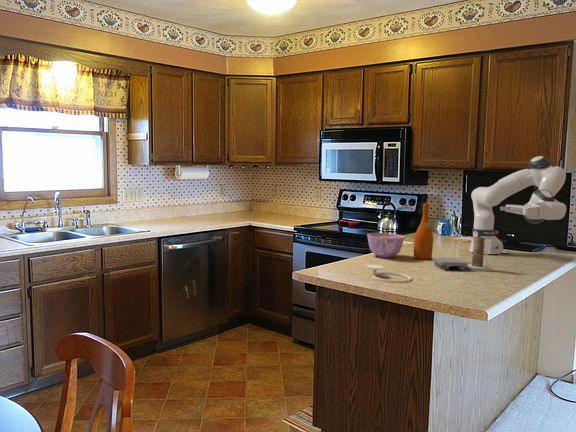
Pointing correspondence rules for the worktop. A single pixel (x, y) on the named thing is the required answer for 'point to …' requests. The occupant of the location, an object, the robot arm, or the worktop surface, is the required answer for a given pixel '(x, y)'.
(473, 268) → the board
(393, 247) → the bowl of food
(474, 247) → the walnut roller
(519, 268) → the worktop surface
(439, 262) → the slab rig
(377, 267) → the hand towel holder
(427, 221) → the wine bottle
